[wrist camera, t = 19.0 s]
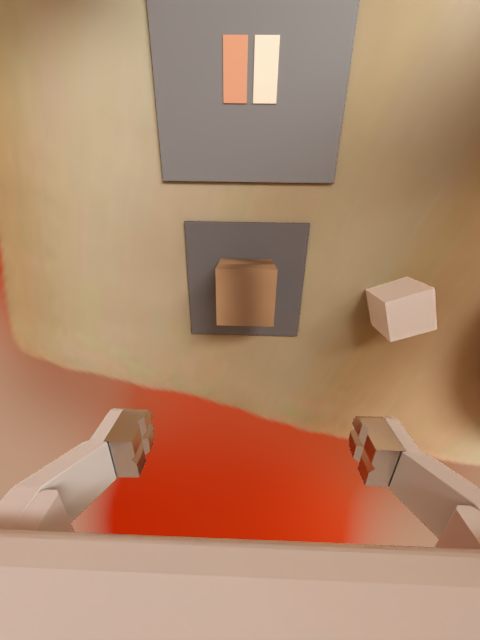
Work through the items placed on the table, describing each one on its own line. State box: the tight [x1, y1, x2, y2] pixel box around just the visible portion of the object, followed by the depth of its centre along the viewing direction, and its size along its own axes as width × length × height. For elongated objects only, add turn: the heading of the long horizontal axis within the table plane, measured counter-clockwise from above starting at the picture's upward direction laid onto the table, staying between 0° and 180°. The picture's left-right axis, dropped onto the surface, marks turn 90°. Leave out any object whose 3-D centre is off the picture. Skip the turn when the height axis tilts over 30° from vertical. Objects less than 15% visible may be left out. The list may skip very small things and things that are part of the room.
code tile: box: [147, 0, 359, 183], centre depth 24 cm, size 18×18×1 cm
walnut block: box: [215, 258, 278, 327], centre depth 29 cm, size 6×6×6 cm
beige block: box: [365, 276, 437, 342], centre depth 30 cm, size 5×5×5 cm
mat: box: [184, 221, 310, 336], centre depth 32 cm, size 14×14×1 cm
